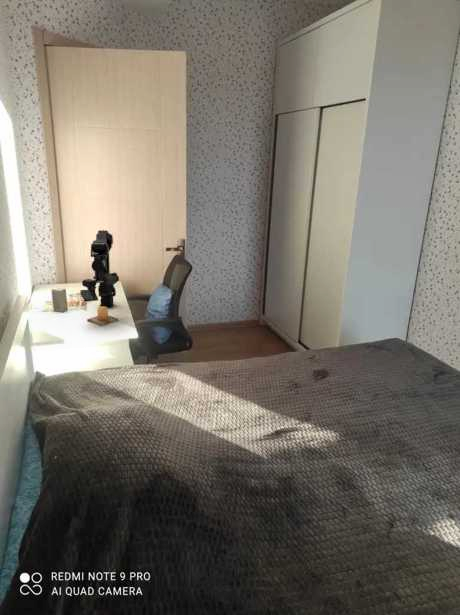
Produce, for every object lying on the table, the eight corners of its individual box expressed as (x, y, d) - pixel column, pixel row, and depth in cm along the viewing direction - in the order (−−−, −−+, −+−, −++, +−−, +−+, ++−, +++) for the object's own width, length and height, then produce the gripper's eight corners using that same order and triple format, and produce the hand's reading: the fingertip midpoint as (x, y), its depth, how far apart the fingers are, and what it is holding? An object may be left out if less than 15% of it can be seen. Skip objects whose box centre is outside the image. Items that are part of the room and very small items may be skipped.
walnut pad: (104, 315, 242) (104, 313, 242) (118, 320, 236) (118, 318, 236) (87, 321, 234) (87, 319, 234) (101, 326, 228) (101, 324, 228)
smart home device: (83, 299, 263) (79, 289, 280) (83, 302, 264) (80, 292, 281) (98, 298, 266) (93, 288, 284) (98, 301, 267) (93, 291, 284)
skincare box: (68, 310, 248) (66, 288, 245) (63, 312, 244) (61, 290, 241) (57, 308, 250) (56, 287, 246) (52, 310, 246) (51, 289, 242)
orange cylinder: (103, 316, 238) (103, 305, 236) (109, 318, 236) (109, 307, 234) (95, 319, 234) (95, 308, 232) (102, 321, 232) (101, 310, 230)
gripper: (95, 272, 215) (97, 304, 219) (125, 266, 229) (126, 296, 234) (80, 268, 221) (82, 299, 226) (111, 262, 235) (112, 292, 240)
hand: (101, 296), depth 231 cm, fingers open, 9 cm apart
